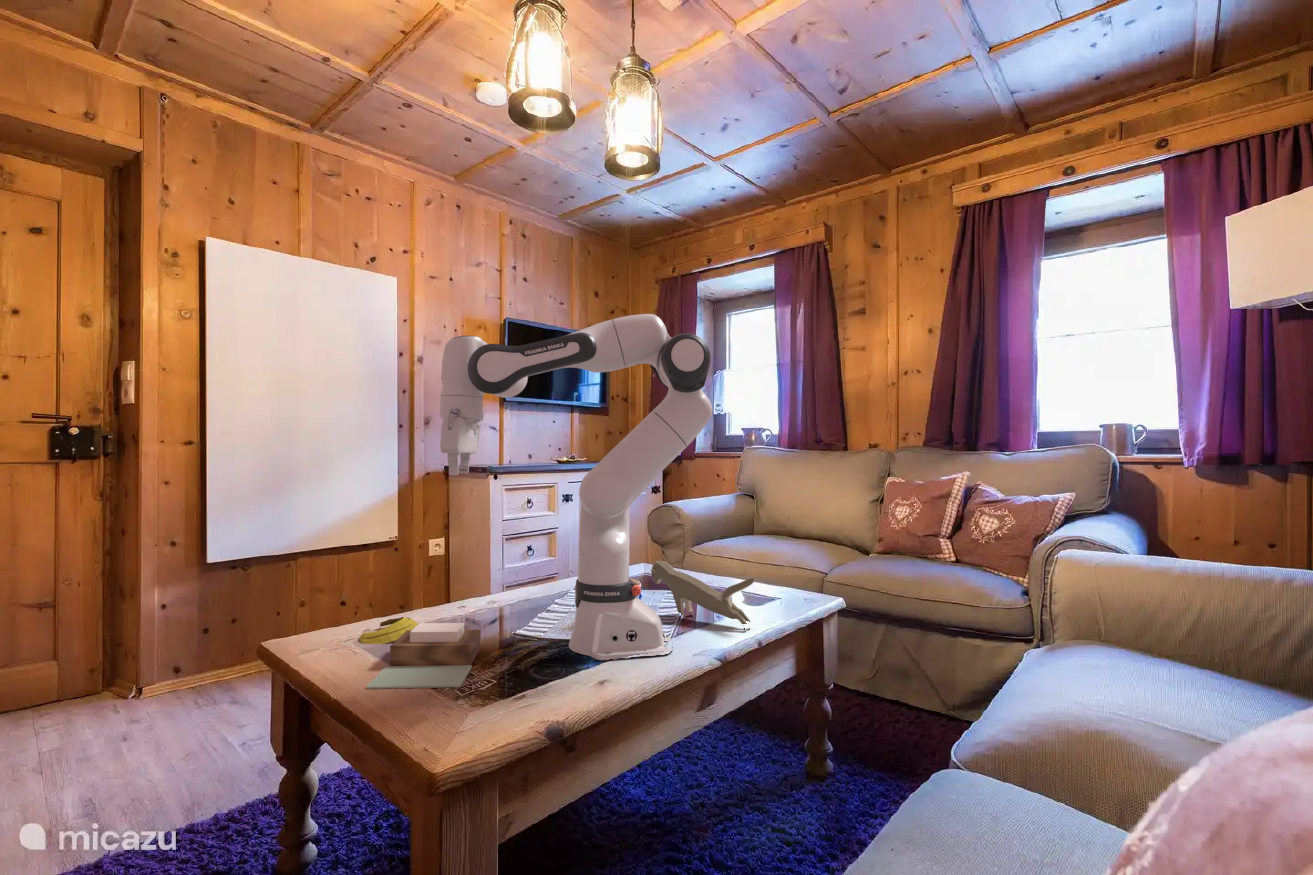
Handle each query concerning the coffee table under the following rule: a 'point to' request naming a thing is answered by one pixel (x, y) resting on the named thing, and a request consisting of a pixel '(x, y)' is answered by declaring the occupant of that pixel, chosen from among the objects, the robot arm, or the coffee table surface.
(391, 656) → the wooden block
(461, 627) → the tile
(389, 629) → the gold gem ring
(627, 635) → the robot arm
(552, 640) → the coffee table surface
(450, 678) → the mat
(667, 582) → the sculpture
